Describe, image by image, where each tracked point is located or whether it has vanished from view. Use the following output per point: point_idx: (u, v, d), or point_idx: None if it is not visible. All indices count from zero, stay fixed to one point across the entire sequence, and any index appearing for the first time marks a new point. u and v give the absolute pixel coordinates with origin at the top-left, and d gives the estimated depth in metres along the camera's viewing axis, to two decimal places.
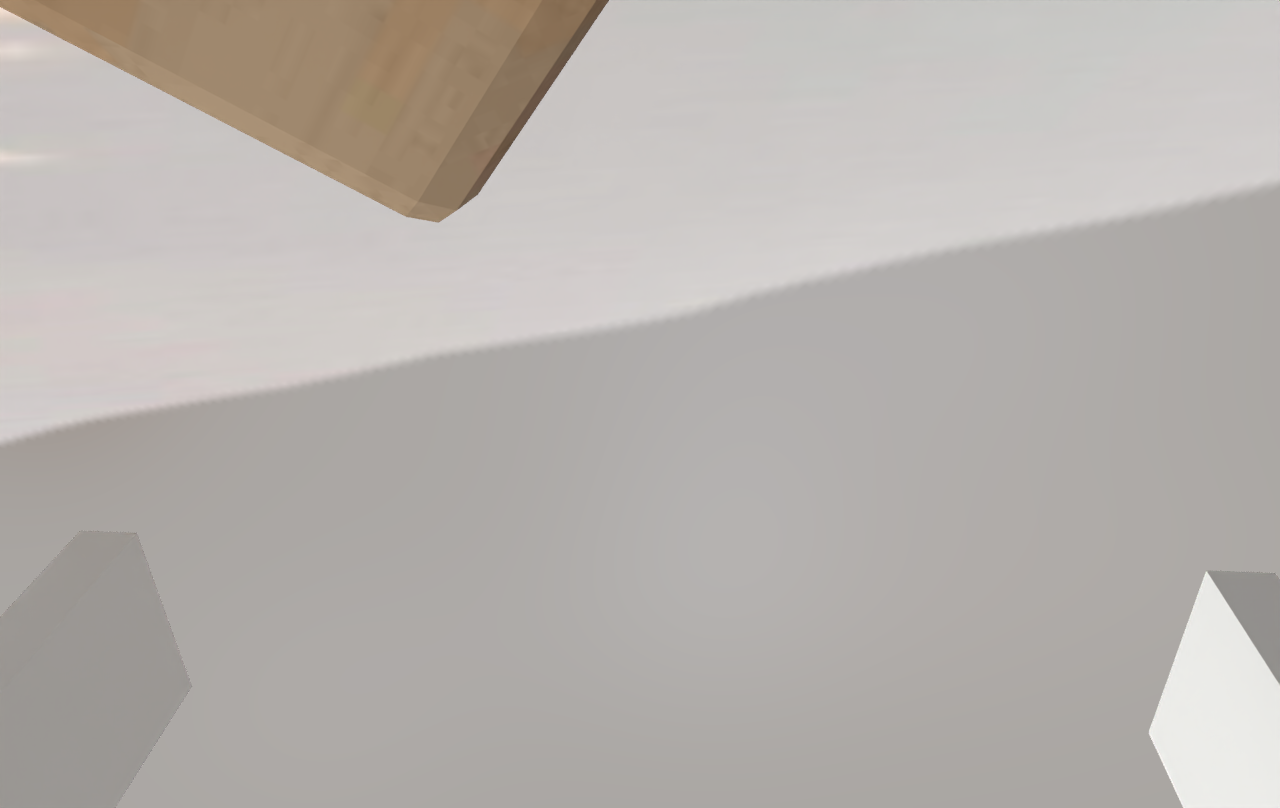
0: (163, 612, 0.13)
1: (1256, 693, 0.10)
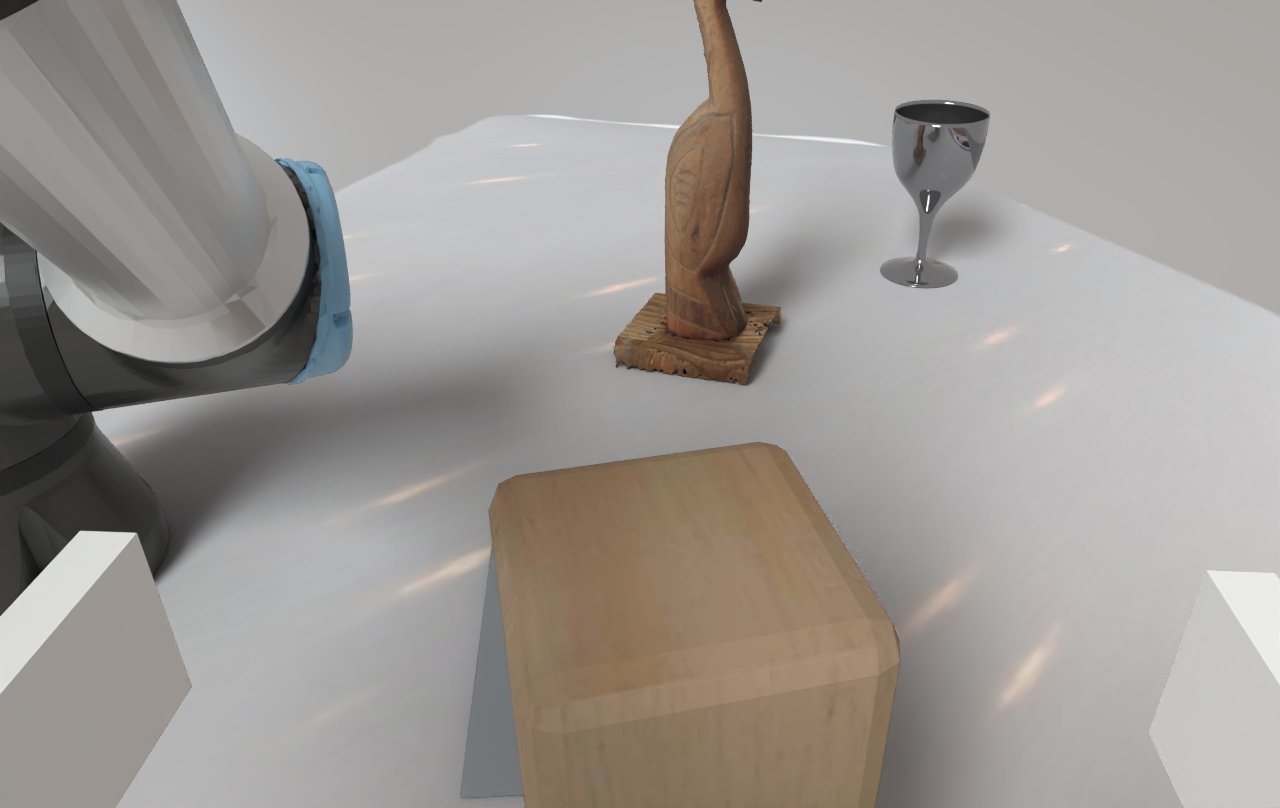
0: (163, 612, 0.13)
1: (1256, 693, 0.10)
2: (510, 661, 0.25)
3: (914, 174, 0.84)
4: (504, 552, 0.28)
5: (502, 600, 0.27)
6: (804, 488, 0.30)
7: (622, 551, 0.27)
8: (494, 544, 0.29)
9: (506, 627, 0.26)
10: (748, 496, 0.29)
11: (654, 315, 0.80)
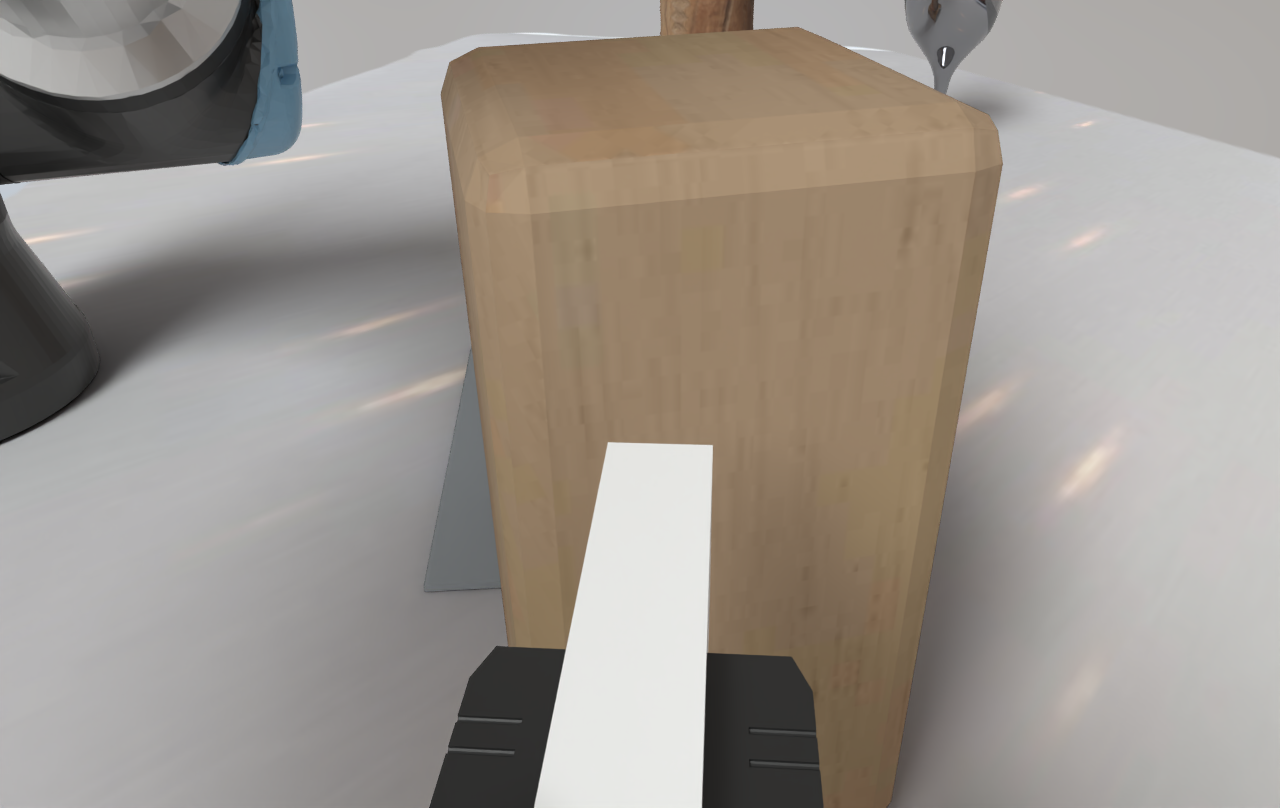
0: None
1: None
2: (459, 170, 0.18)
3: (929, 25, 0.77)
4: (457, 92, 0.21)
5: (452, 135, 0.20)
6: (852, 51, 0.23)
7: (614, 75, 0.20)
8: (446, 107, 0.22)
9: (456, 149, 0.19)
10: (779, 49, 0.22)
11: None
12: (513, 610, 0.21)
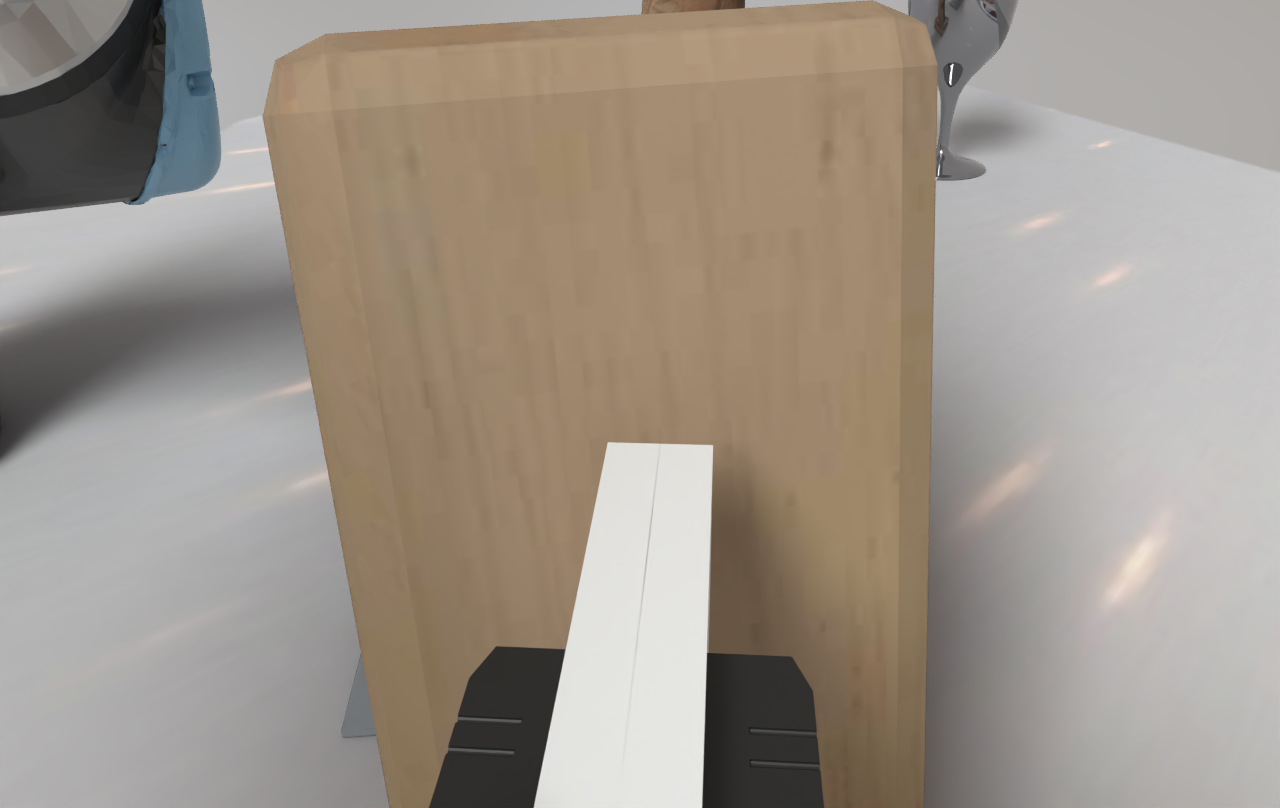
0: None
1: None
2: None
3: (935, 40, 0.71)
4: None
5: None
6: None
7: None
8: None
9: None
10: None
11: None
12: (370, 699, 0.16)
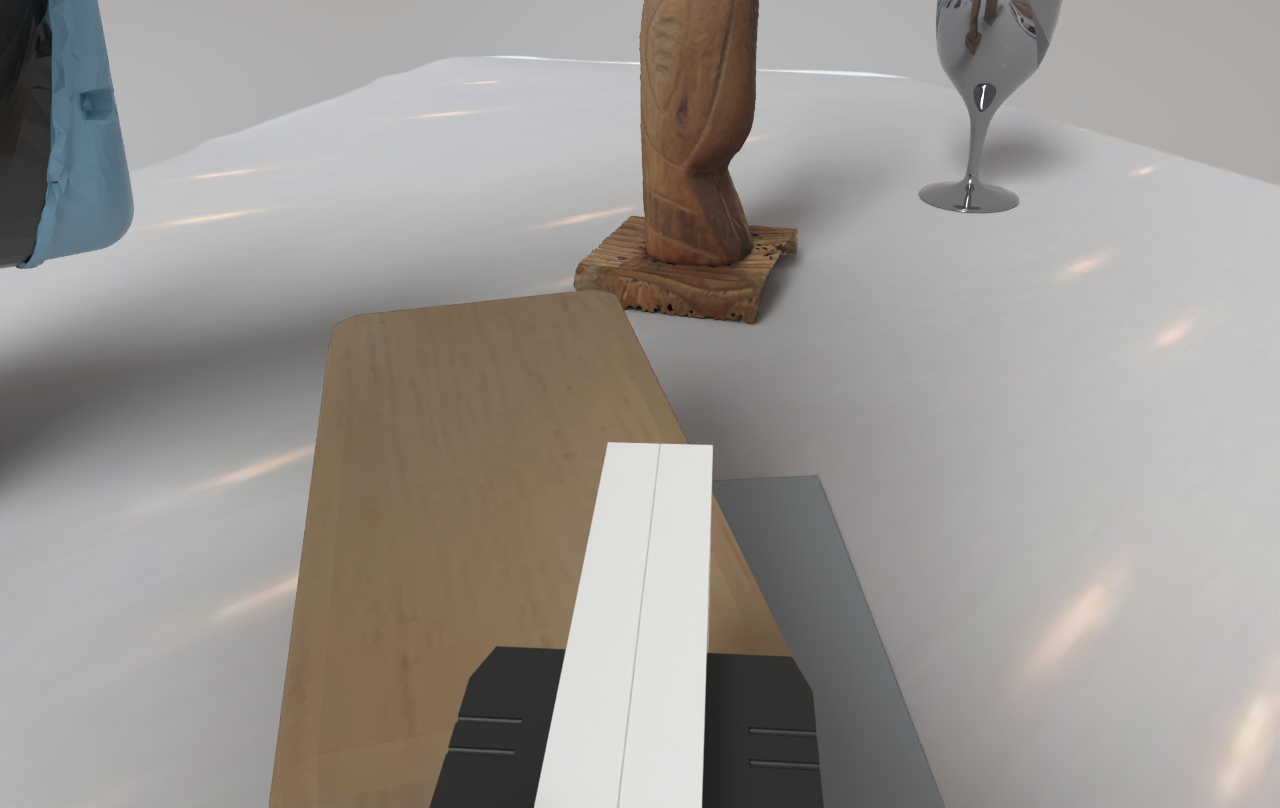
0: None
1: None
2: None
3: (967, 59, 0.64)
4: None
5: None
6: None
7: None
8: None
9: None
10: None
11: (629, 239, 0.60)
12: (307, 509, 0.24)
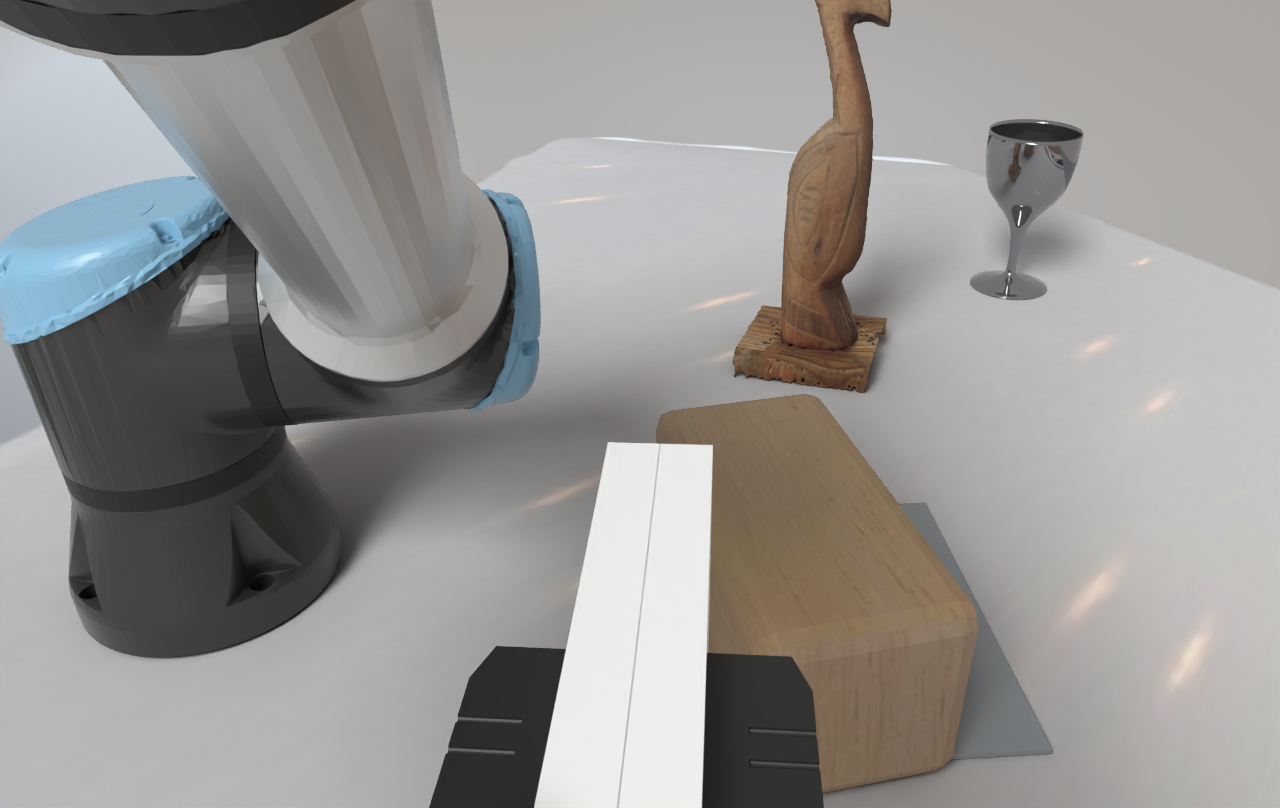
0: None
1: None
2: None
3: (1009, 191, 0.87)
4: None
5: None
6: None
7: None
8: None
9: None
10: None
11: (767, 326, 0.83)
12: None
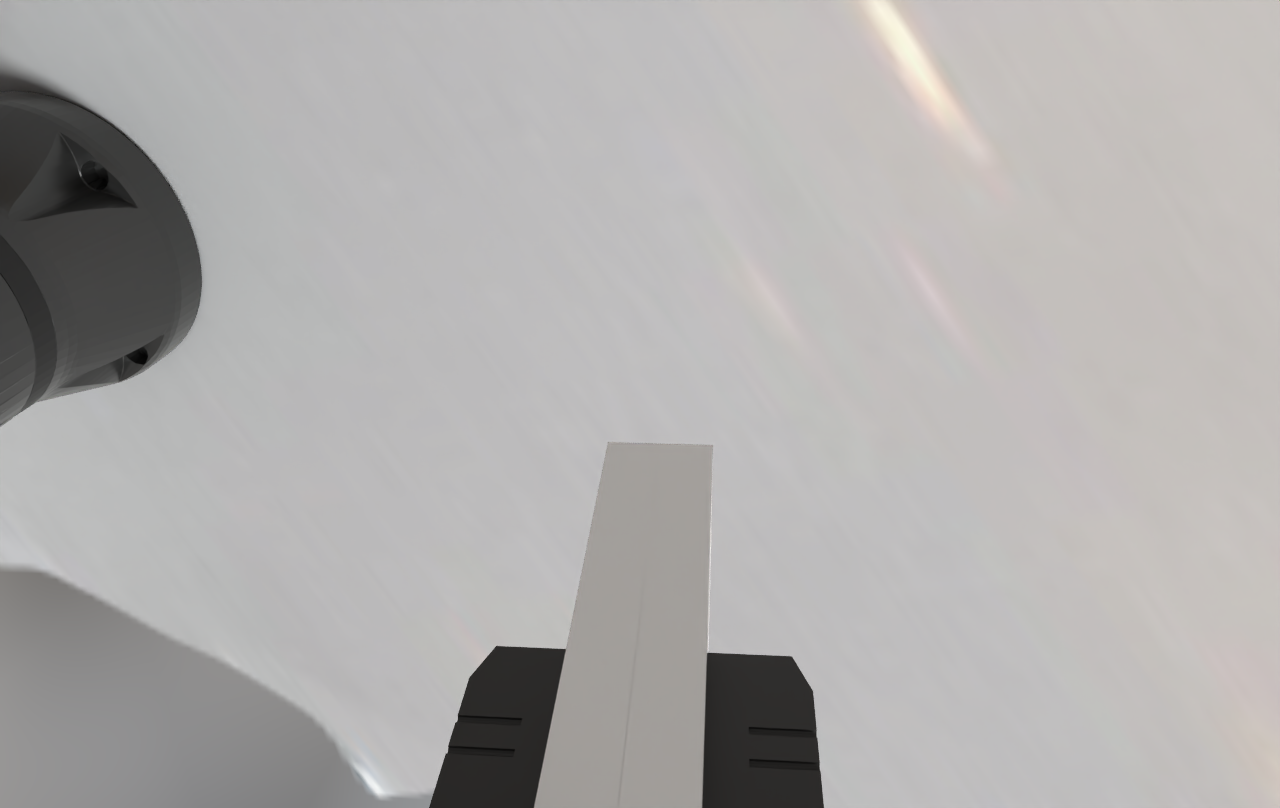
0: None
1: None
2: None
3: None
4: None
5: None
6: None
7: None
8: None
9: None
10: None
11: None
12: None
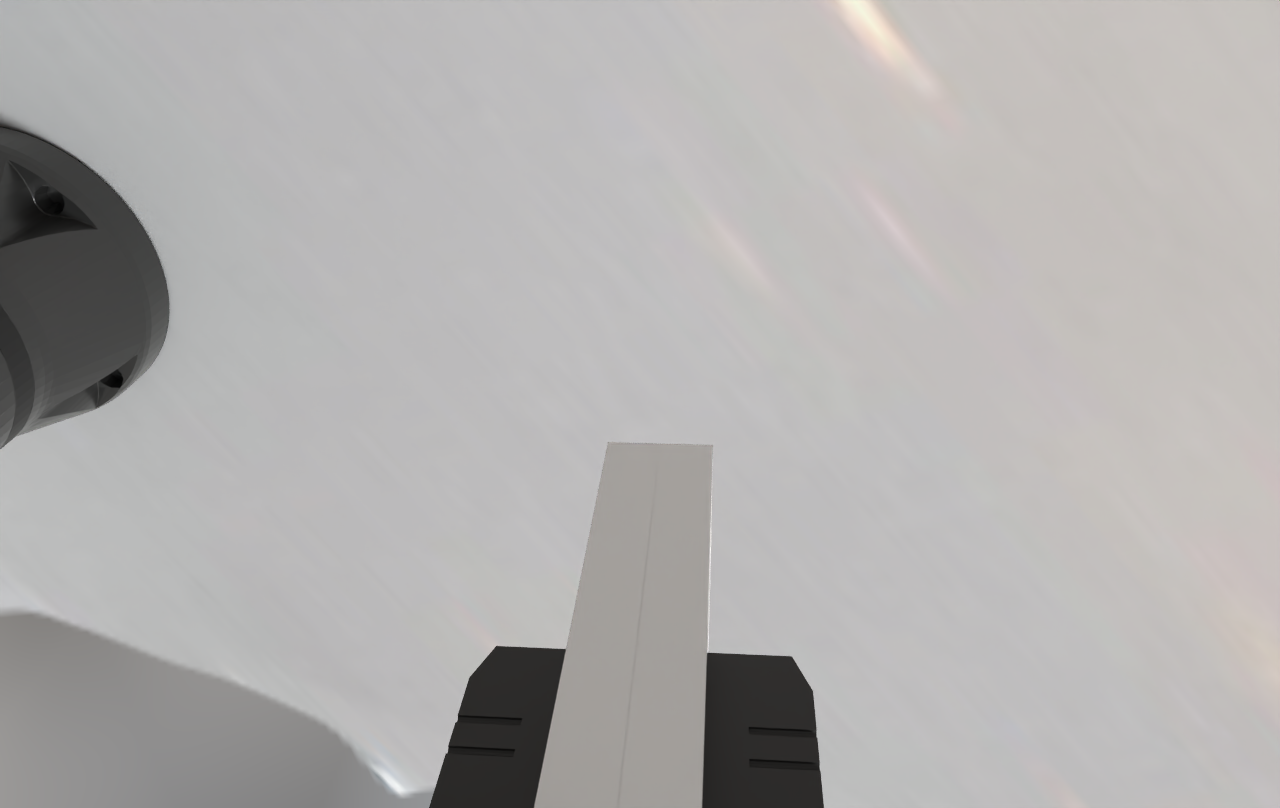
0: None
1: None
2: None
3: None
4: None
5: None
6: None
7: None
8: None
9: None
10: None
11: None
12: None
